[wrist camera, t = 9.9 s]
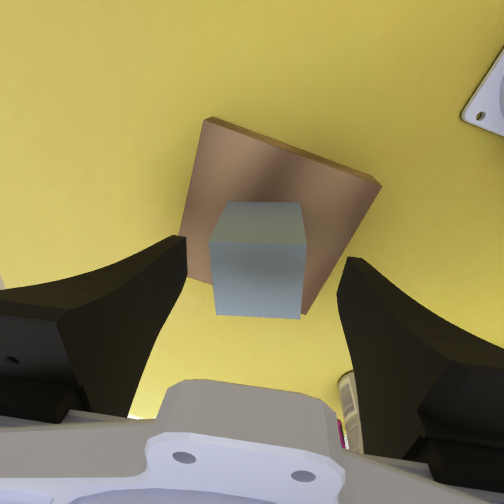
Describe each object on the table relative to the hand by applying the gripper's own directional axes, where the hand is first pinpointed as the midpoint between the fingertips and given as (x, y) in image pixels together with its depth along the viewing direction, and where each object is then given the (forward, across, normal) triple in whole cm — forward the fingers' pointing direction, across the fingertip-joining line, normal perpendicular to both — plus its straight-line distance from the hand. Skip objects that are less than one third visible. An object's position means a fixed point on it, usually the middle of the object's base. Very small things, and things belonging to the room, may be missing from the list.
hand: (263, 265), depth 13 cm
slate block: (+8, 0, +2) cm, 8 cm away
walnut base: (+10, 0, +2) cm, 11 cm away
